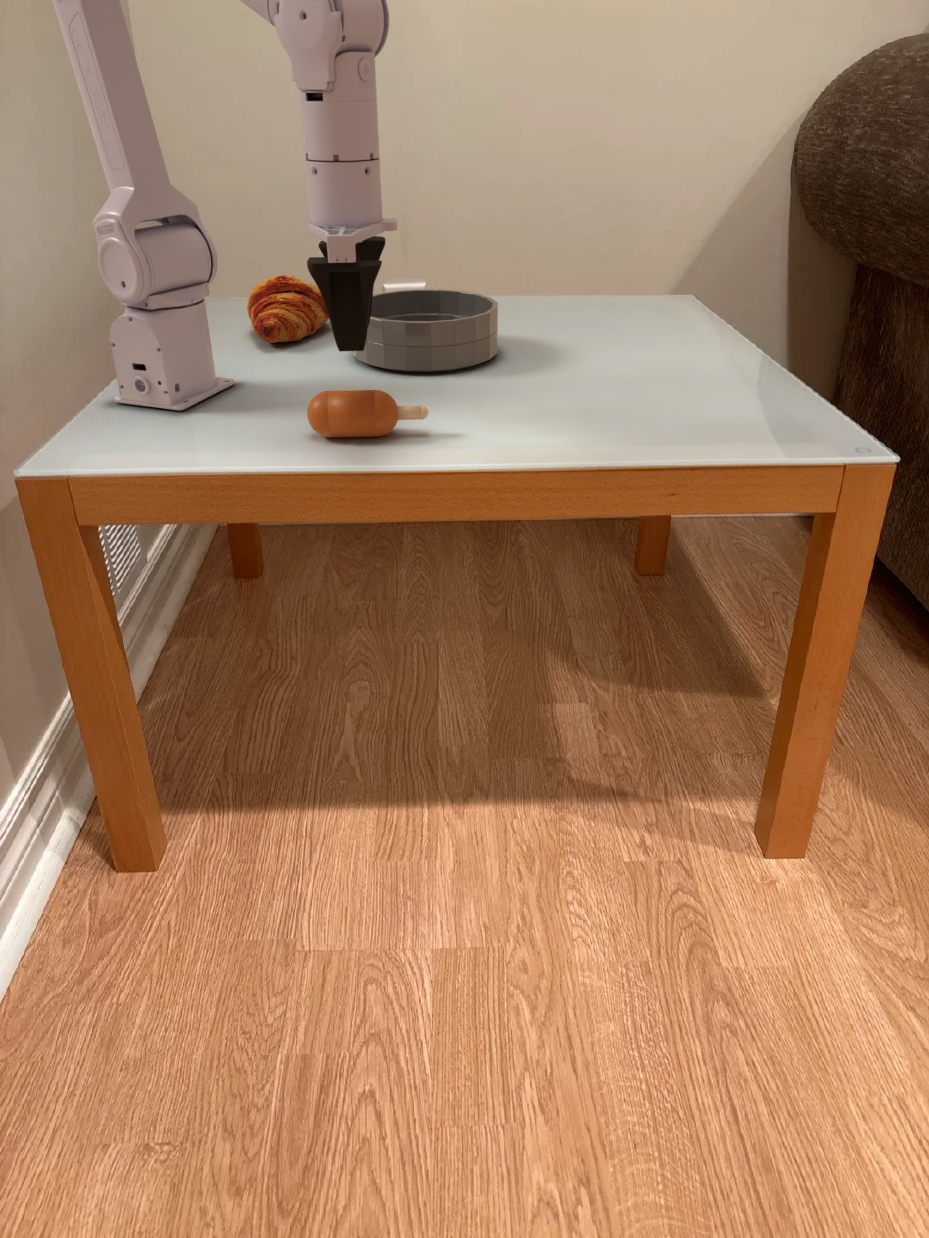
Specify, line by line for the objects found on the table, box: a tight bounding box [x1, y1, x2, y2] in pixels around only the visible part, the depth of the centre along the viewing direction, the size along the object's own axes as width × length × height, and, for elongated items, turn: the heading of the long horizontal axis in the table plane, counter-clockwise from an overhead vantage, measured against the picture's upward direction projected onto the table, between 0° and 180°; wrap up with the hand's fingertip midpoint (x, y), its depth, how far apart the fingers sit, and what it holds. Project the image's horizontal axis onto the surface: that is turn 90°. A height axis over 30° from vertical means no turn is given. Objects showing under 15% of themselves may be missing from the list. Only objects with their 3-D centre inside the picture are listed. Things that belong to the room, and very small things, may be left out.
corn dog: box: [306, 389, 429, 438], centre depth 80 cm, size 11×4×4 cm, turn 92°
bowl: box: [352, 288, 499, 373], centre depth 103 cm, size 16×16×6 cm
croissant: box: [246, 275, 329, 344], centre depth 113 cm, size 21×10×8 cm, turn 178°
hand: (354, 338), depth 78 cm, fingers open, 7 cm apart
